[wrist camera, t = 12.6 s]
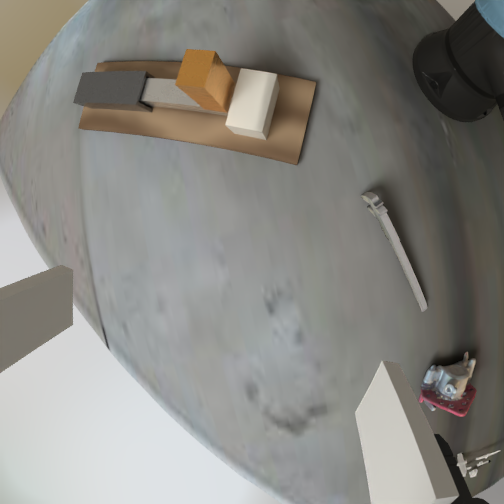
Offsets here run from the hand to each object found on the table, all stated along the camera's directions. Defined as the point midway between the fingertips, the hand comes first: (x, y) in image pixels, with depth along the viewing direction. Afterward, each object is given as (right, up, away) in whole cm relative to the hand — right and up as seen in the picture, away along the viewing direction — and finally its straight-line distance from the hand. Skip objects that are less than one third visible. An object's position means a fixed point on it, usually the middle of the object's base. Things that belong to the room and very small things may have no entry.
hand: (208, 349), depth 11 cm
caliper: (+23, +3, +29) cm, 37 cm away
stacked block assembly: (-8, +25, +26) cm, 37 cm away
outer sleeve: (-18, +28, +28) cm, 44 cm away
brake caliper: (+35, -18, +31) cm, 50 cm away
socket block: (+2, +22, +26) cm, 35 cm away
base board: (-8, +26, +29) cm, 39 cm away
